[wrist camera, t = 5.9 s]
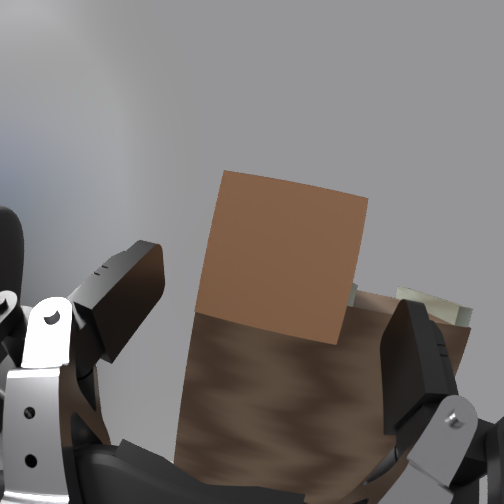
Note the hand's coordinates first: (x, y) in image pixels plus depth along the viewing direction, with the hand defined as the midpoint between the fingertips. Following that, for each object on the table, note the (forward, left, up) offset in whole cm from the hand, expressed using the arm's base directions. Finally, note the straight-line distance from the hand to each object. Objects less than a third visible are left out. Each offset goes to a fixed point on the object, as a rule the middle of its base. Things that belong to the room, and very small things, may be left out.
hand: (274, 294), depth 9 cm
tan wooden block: (0, +10, -1) cm, 10 cm away
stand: (+4, +12, -33) cm, 35 cm away
